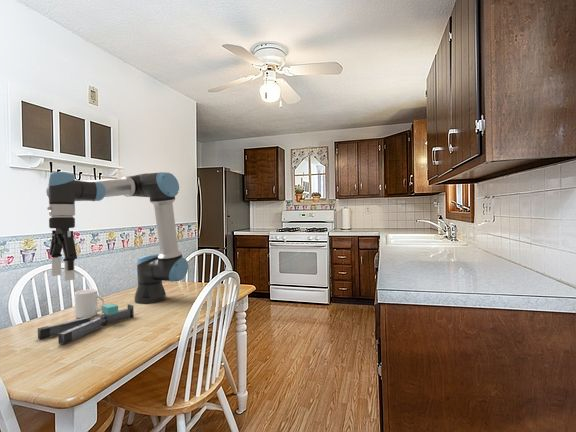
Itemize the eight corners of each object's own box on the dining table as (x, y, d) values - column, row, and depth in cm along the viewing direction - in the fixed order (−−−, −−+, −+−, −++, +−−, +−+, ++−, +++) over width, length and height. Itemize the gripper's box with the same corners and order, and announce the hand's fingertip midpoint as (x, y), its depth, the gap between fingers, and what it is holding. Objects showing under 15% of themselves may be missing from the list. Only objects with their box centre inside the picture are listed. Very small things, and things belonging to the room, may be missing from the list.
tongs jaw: (96, 326, 135) (96, 318, 135) (102, 327, 134) (102, 318, 134) (58, 343, 118) (58, 333, 118) (64, 344, 118) (64, 334, 118)
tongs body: (127, 315, 151) (127, 303, 150) (134, 317, 147) (134, 305, 147) (37, 337, 125) (37, 323, 125) (43, 341, 121) (43, 327, 121)
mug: (98, 318, 147) (98, 293, 147) (70, 318, 147) (70, 293, 146) (109, 312, 155) (108, 288, 155) (82, 312, 155) (82, 289, 155)
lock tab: (111, 310, 145) (111, 303, 144) (118, 312, 141) (118, 305, 141) (101, 312, 141) (101, 305, 141) (108, 315, 138) (108, 307, 138)
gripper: (38, 216, 124) (39, 275, 124) (61, 216, 108) (62, 283, 108) (62, 216, 130) (63, 272, 130) (87, 216, 114) (88, 280, 114)
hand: (62, 277), depth 119 cm, fingers open, 13 cm apart
